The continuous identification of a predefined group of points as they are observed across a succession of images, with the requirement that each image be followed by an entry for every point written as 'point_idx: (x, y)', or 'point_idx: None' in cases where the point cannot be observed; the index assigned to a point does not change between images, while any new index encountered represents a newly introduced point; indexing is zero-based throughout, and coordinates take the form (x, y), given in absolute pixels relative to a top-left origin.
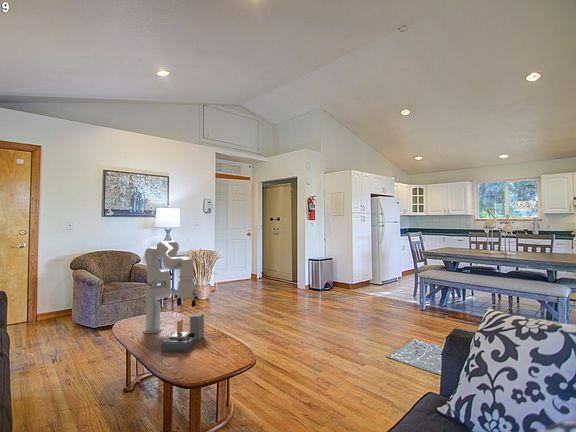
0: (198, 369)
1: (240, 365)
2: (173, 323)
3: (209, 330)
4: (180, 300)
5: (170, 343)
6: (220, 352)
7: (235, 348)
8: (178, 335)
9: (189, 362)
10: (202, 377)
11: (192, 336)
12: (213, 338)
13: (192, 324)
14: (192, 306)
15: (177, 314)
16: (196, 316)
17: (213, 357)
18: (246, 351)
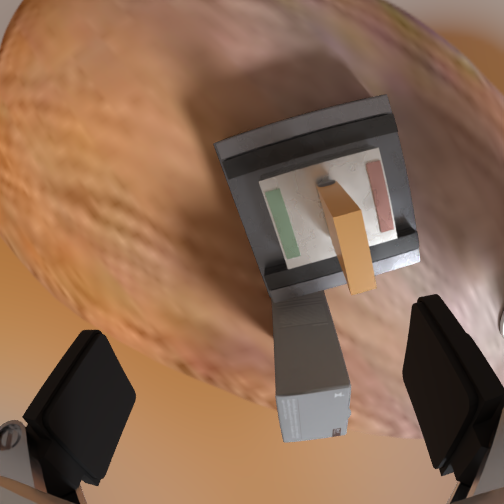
0: (69, 41)
1: None
2: None
3: None
4: (432, 436)
5: (328, 108)
6: (86, 217)
7: (68, 276)
8: None
9: (137, 60)
10: (32, 16)
11: (273, 265)
12: (222, 341)
13: (318, 346)
14: (80, 333)
15: None
16: (293, 395)
17: (78, 158)
18: (27, 265)
